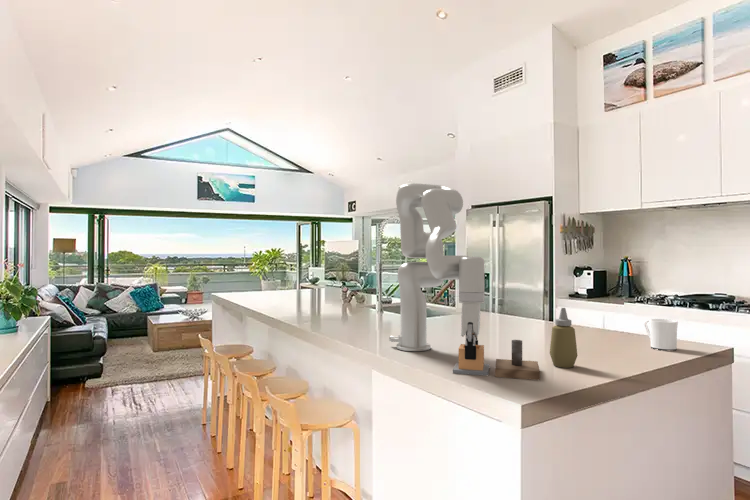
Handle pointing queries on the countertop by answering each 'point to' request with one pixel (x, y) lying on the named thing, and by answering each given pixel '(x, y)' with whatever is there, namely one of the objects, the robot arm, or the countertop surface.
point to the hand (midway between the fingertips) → (471, 355)
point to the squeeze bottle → (563, 342)
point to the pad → (472, 372)
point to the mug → (662, 333)
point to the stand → (517, 365)
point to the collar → (471, 364)
